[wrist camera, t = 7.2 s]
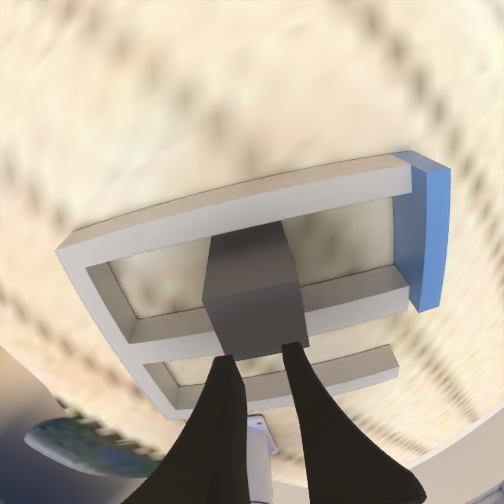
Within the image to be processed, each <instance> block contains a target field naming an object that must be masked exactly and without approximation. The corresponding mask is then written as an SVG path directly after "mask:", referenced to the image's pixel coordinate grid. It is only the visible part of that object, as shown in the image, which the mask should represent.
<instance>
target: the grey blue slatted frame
mask: <svg viewBox="0 0 504 504" xmlns="http://www.w3.org/2000/svg"><path fill="white" fill-rule="evenodd" d="M450 189H451V169H450V168H448V167H446V166H444V165H442V164H439V163H437V162H435V161H433V160H431V159H429V158H427V157H425V156H422V155H420V154H418V153H416V152H414V151H405V152H398V153H392V154H385V155H379V156H373V157H367V158H361V159H355V160H349V161H343V162H338V163H332V164H327V165H322V166H317V167H312V168H307V169H302V170H297V171H292V172H287V173H283V174H278V175H273V176H269V177H264V178H260V179H256V180H251V181H247V182H243V183H239V184H234V185H230V186H226V187H222V188H218V189H214V190H210V191H206V192H203V193H199V194H195V195H191V196H188V197H184V198H180V199H177V200H173V201H169V202H166V203H162V204H159V205H155V206H152V207H148V208H145V209H142V210H138V211H135V212H132V213H128V214H125V215H122V216H119V217H115V218H112V219H109V220H106V221H103V222H100V223H97V224H94V225H91V226H88V227H85V228H82V229H79V230H76V231H73V232H72V233H71V234H70V235H69V236H68V237H67V238H66V239H65V240H64V241H63V242H62V243H61V244H60V245H59V247H58V248H57V249H56V250H55V252H56V254H57V256H58V258H59V260H60V262H61V264H62V266H63V268H64V270H65V272H66V274H67V276H68V277H69V279H70V281H71V283H72V285H73V287H74V288H75V290H76V292H77V294H78V295H79V297H80V299H81V300H82V302H83V304H84V306H85V307H86V309H87V311H88V312H89V314H90V315H91V317H92V319H93V320H94V322H95V323H96V325H97V327H98V328H99V330H100V331H101V333H102V334H103V336H104V337H105V339H106V340H107V342H108V343H109V345H110V346H111V348H112V349H113V351H114V352H115V354H116V355H117V357H118V358H119V359H120V361H121V362H122V364H123V365H124V366H125V368H126V369H127V370H128V372H129V373H130V375H131V376H132V377H133V379H134V380H135V381H136V383H137V384H138V385H139V386H140V388H141V389H142V390H143V392H144V393H145V394H146V395H147V397H148V398H149V399H150V400H151V402H152V403H153V404H154V405H155V406H156V408H157V409H158V410H159V411H160V412H161V414H162V415H163V416H164V417H165V418H166V420H177V419H189V417H190V415H191V413H192V412H193V410H194V408H195V405H196V403H197V401H198V399H199V397H200V394H201V392H202V390H203V387H204V385H205V384H200V385H191V386H182V387H179V386H178V385H177V383H176V382H175V380H174V379H173V377H172V375H171V374H170V372H169V371H168V369H167V368H166V366H165V365H164V363H163V362H166V361H174V360H181V359H189V358H196V357H203V356H209V355H215V354H222V353H224V351H223V349H222V347H221V345H220V342H219V340H218V338H217V335H216V333H215V331H214V328H213V326H212V323H211V321H210V319H209V316H208V314H207V311H206V309H205V307H204V308H199V309H194V310H188V311H183V312H178V313H172V314H166V315H161V316H155V317H149V318H143V319H137V318H136V316H135V314H134V312H133V310H132V309H131V307H130V305H129V303H128V301H127V299H126V297H125V296H124V294H123V292H122V290H121V288H120V286H119V284H118V282H117V280H116V278H115V276H114V274H113V272H112V270H111V268H110V266H109V264H108V261H112V260H116V259H120V258H124V257H128V256H132V255H136V254H139V253H143V252H147V251H151V250H155V249H159V248H163V247H168V246H172V245H176V244H180V243H184V242H188V241H192V240H196V239H200V238H205V237H209V236H213V235H217V234H222V233H226V232H230V231H234V230H239V229H243V228H247V227H252V226H256V225H260V224H265V223H269V222H274V221H278V220H283V219H287V218H292V217H296V216H301V215H305V214H310V213H315V212H319V211H324V210H329V209H333V208H338V207H343V206H347V205H352V204H357V203H362V202H367V201H372V200H377V199H382V198H387V197H392V196H393V210H394V265H390V266H386V267H382V268H378V269H374V270H371V271H367V272H363V273H359V274H355V275H351V276H346V277H342V278H338V279H334V280H330V281H326V282H321V283H317V284H313V285H308V286H304V287H300V291H301V297H302V303H303V309H304V315H305V321H306V327H307V333H308V336H313V335H317V334H321V333H325V332H330V331H334V330H338V329H342V328H345V327H349V326H353V325H357V324H361V323H364V322H368V321H372V320H375V319H379V318H382V317H386V316H389V315H392V314H396V313H399V312H402V311H406V310H407V309H408V300H409V299H410V301H411V302H412V304H413V305H414V307H415V308H416V310H417V311H418V313H420V312H423V311H426V310H429V309H432V308H435V307H438V306H439V303H440V297H441V291H442V285H443V278H444V270H445V262H446V253H447V243H448V232H449V217H450ZM311 366H312V368H313V370H314V372H315V373H316V375H317V377H318V378H319V380H320V381H321V383H322V384H323V386H324V387H325V389H326V390H327V391H328V393H329V394H330V396H334V395H338V394H342V393H346V392H350V391H353V390H357V389H361V388H364V387H368V386H371V385H374V384H378V383H381V382H384V381H387V380H390V379H393V378H397V376H398V371H399V365H398V362H397V360H396V358H395V356H394V354H393V352H392V350H391V348H390V346H389V345H386V346H382V347H379V348H375V349H372V350H369V351H365V352H361V353H358V354H354V355H350V356H347V357H343V358H339V359H335V360H331V361H327V362H323V363H318V364H314V365H311ZM242 380H243V382H244V384H245V390H246V399H247V412H253V411H260V410H266V409H272V408H278V407H283V406H289V405H294V401H293V397H292V393H291V389H290V385H289V381H288V377H287V373H286V371H281V372H276V373H271V374H266V375H260V376H254V377H249V378H242Z"/></svg>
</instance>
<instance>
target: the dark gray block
mask: <svg viewBox="0 0 504 504" xmlns="http://www.w3.org/2000/svg"><path fill="white" fill-rule="evenodd" d="M202 302H203V304H204V306H205V309H206V311H207V314H208V316H209V319H210V321H211V323H212V326H213V328H214V331H215V333H216V335H217V338H218V340H219V342H220V345H221V347H222V349H223V351H224V354H225V355H230V354H232V356H233V359H234V361H240V360H245V359H251V358H257V357H262V356H267V355H273V354H278V353H282V347H281V345H283V344H288V343H293V342H297V341H298V342H300V343H301V344H302V347H303V348H306V347H310V346H309V339H308V333H307V327H306V321H305V315H304V309H303V303H302V297H301V291H300V285H299V280H298V276H297V273H296V270H295V266H294V263H293V260H292V256H291V253H290V250H289V247H288V243H287V240H286V237H285V234H284V230H283V227H282V224H281V221H280V220H279V221H275V222H270V223H266V224H261V225H257V226H252V227H248V228H244V229H239V230H235V231H231V232H226V233H222V234H218V235H213V236H212V237H211V244H210V250H209V256H208V263H207V269H206V276H205V283H204V290H203V297H202Z"/></svg>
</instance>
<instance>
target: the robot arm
mask: <svg viewBox="0 0 504 504" xmlns="http://www.w3.org/2000/svg"><path fill="white" fill-rule="evenodd" d="M281 347H282V355H283V362H284V366H285V370H286V373H287V377H288V381H289V385H290V389H291V393H292V397H293V401H294V404H295V408H296V411H297V415H298V419H299V424H300V430H301V437H302V444H303V451H304V458H305V466H306V473H307V481H308V489H309V498H310V504H422V503H423V502H424V501H425V500H426V498H427V496H426V493H425V491H424V489H423V487H422V485H421V484H420V482H419V481H418V479H417V478H416V477H415V476H414V474H413V473H412V472H411V471H409V470H408V469H406V468H405V467H403V466H402V465H400V464H399V463H398V462H396V461H395V460H394V459H392V458H391V457H390V456H389V455H387V454H386V453H385V452H384V451H382V450H381V449H380V448H379V447H378V446H377V445H376V444H374V443H373V442H372V441H371V440H370V439H369V438H368V437H367V436H366V435H365V434H364V433H363V432H362V431H361V430H360V429H359V428H358V427H357V426H356V425H355V424H354V423H353V422H352V421H351V420H350V419H349V418H348V417H347V415H346V414H345V413H344V412H343V411H342V410H341V408H340V407H339V406H338V405H337V403H336V402H335V401H334V400H333V398H332V397H331V396H330V394H329V393H328V391H327V390H326V389H325V387H324V386H323V384H322V383H321V381H320V380H319V378H318V377H317V375H316V373H315V372H314V370H313V368H312V366H311V365H310V363H309V361H308V359H307V357H306V355H305V352H304V350H303V347H302V344H301V343H300V342H298V341H297V342H293V343H288V344H283V345H281ZM276 453H278V449H277V447H276V445H275V443H274V441H273V438H272V436H271V434H270V432H269V430H268V427H267V425H266V423H265V421H264V418H263V417H262V416H252V417H247V399H246V390H245V384H244V382H243V380H242V377H241V375H240V373H239V371H238V368H237V366H236V364H235V361H234V359H233V356H232V354H230V355H224V356H218V357H215V359H214V361H213V364H212V367H211V369H210V372H209V375H208V377H207V380H206V382H205V385H204V387H203V390H202V392H201V394H200V397H199V399H198V401H197V403H196V405H195V408H194V410H193V412H192V413H191V415H190V417H189V419H188V421H187V423H186V425H185V427H184V429H183V430H182V432H181V434H180V435H179V437H178V439H177V440H176V442H175V443H174V445H173V446H172V448H171V449H170V451H169V452H168V453H167V455H166V456H165V457H164V459H163V460H162V461H161V463H160V464H159V465H158V466H157V468H156V469H155V470H154V471H153V472H152V473H151V475H150V476H149V477H148V478H147V479H146V480H145V481H144V482H143V483H142V485H141V486H140V487H139V488H137V489H136V490H135V491H134V492H133V493H132V494H131V495H130V496H129V497H128V498H127V499H126V500H124V501H123V502H122V503H121V504H272V497H273V488H272V476H271V465H270V455H271V454H276ZM465 504H504V480H503V481H502V482H501V483H500V484H498V485H496V486H495V487H493V488H491V489H490V490H488V491H486V492H485V493H483V494H481V495H480V496H478V497H476V498H474V499H472V500H471V501H469V502H467V503H465Z"/></svg>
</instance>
